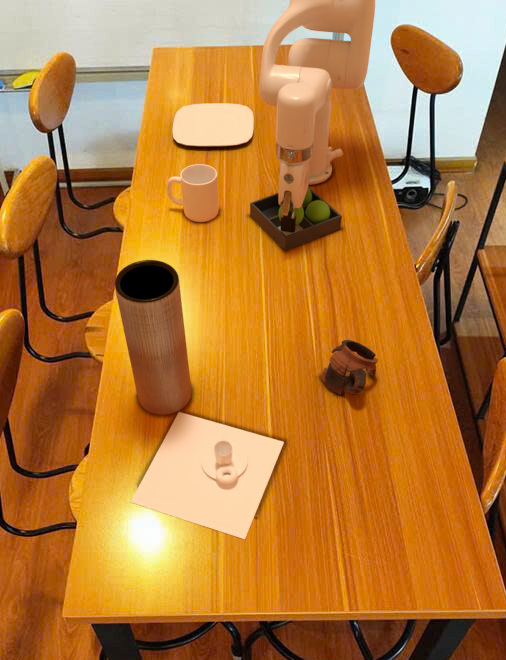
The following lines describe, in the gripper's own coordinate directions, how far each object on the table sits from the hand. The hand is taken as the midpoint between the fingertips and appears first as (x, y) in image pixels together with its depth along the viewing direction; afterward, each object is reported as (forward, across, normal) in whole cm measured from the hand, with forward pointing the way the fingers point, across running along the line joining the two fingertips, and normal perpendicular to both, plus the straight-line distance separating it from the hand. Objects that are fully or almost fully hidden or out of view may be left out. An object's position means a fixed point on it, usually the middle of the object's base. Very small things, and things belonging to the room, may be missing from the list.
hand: (290, 222), depth 153 cm
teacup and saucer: (+4, -66, 0) cm, 66 cm away
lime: (-2, 0, 0) cm, 2 cm away
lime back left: (0, +10, 0) cm, 10 cm away
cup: (+4, +4, +24) cm, 25 cm away
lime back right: (0, +5, -5) cm, 7 cm away
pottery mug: (+4, -40, -20) cm, 45 cm away
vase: (+4, -51, +13) cm, 53 cm away
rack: (+4, +5, 0) cm, 6 cm away
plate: (+4, +40, +30) cm, 50 cm away
